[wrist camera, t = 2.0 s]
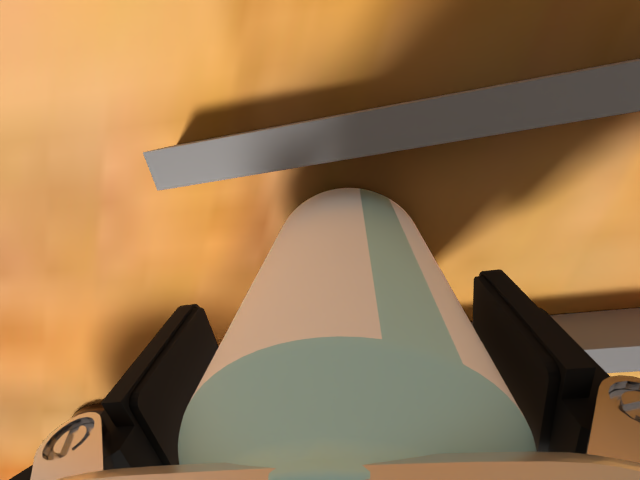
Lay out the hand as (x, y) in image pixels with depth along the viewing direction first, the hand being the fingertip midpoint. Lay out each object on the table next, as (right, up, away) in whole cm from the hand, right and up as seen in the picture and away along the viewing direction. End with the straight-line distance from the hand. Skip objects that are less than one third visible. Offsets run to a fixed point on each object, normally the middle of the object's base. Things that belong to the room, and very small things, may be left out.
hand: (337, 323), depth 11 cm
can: (+1, +2, +5) cm, 6 cm away
